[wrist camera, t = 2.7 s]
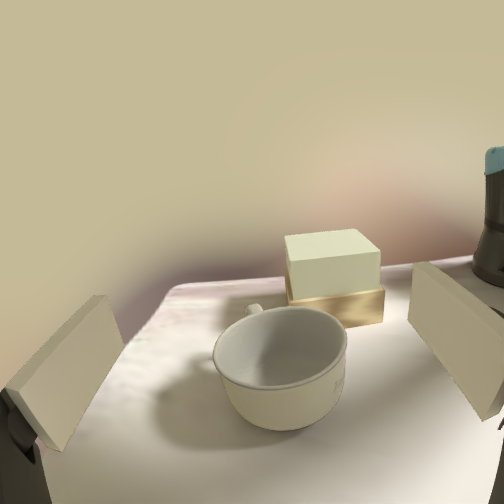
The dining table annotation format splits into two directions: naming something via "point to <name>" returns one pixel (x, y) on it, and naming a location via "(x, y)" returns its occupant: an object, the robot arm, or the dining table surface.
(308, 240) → the tower top
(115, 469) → the dining table surface
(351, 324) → the tower base
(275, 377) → the teacup
